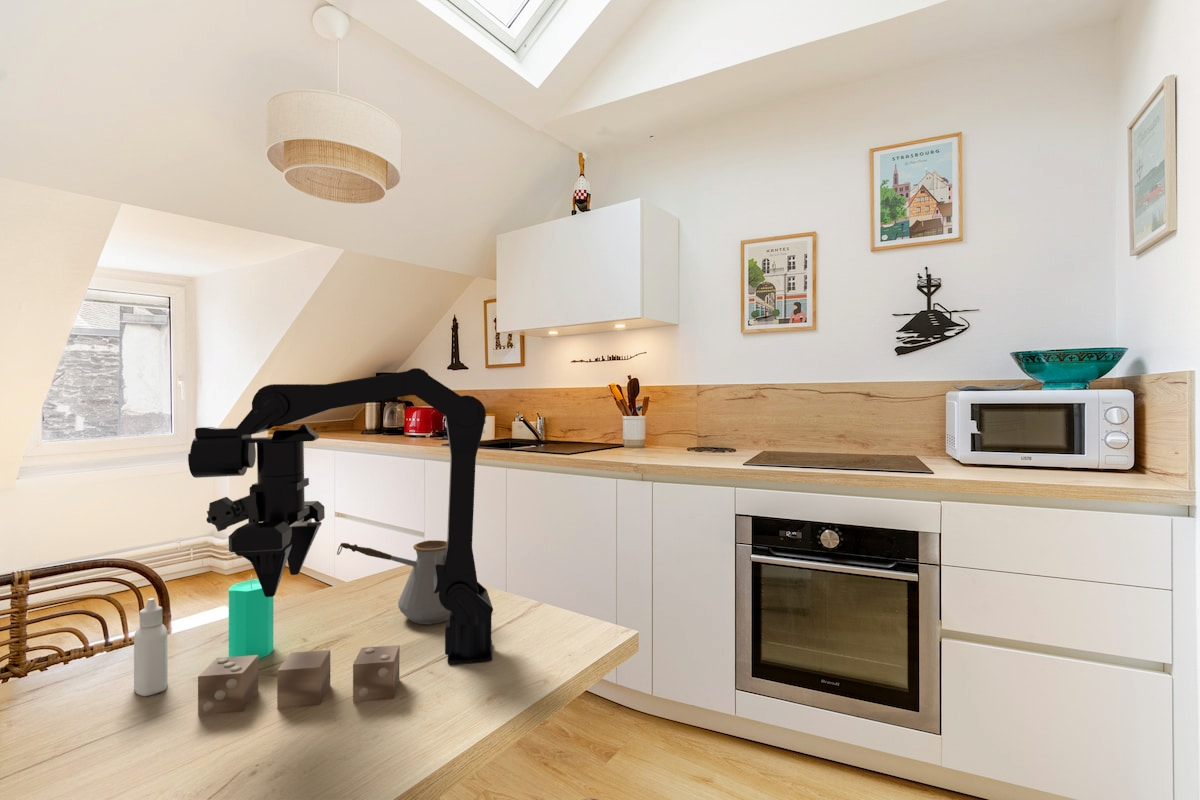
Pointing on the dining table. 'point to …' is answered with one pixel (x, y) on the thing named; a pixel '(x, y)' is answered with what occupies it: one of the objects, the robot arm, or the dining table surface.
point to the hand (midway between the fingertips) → (283, 584)
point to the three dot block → (227, 685)
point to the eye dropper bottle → (150, 652)
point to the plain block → (303, 679)
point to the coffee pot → (416, 582)
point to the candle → (250, 620)
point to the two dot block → (376, 673)
